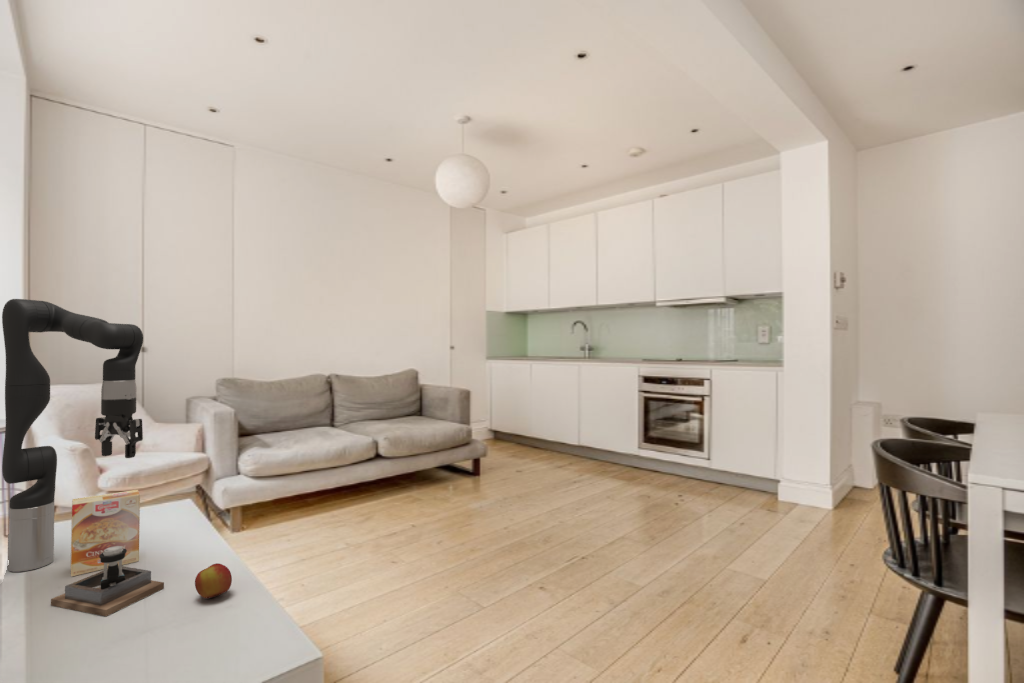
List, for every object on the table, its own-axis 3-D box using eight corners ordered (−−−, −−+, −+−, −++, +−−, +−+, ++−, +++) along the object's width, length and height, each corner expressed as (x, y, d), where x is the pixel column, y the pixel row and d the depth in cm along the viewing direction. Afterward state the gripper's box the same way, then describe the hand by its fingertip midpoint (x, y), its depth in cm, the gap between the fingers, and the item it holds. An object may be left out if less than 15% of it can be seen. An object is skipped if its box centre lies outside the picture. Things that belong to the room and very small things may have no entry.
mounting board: (50, 605, 119) (50, 599, 119) (112, 579, 133) (112, 573, 133) (105, 616, 114) (106, 610, 114) (163, 588, 128) (163, 582, 128)
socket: (64, 598, 119) (65, 586, 119) (116, 576, 131) (116, 565, 131) (101, 605, 116) (101, 592, 116) (150, 582, 128) (151, 570, 128)
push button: (92, 598, 119) (92, 556, 120) (91, 590, 123) (91, 549, 124) (127, 589, 124) (127, 549, 124) (125, 582, 128) (125, 542, 128)
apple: (225, 586, 129) (226, 555, 129) (235, 597, 123) (235, 564, 123) (191, 596, 123) (191, 564, 124) (199, 608, 118) (200, 574, 118)
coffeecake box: (70, 577, 134) (71, 504, 134) (70, 568, 139) (71, 498, 140) (139, 561, 144) (140, 493, 144) (137, 554, 149) (138, 488, 149)
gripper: (85, 397, 134) (84, 458, 134) (124, 399, 130) (123, 461, 130) (114, 395, 141) (113, 452, 141) (152, 396, 137) (151, 455, 137)
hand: (118, 456), depth 135 cm, fingers open, 8 cm apart
